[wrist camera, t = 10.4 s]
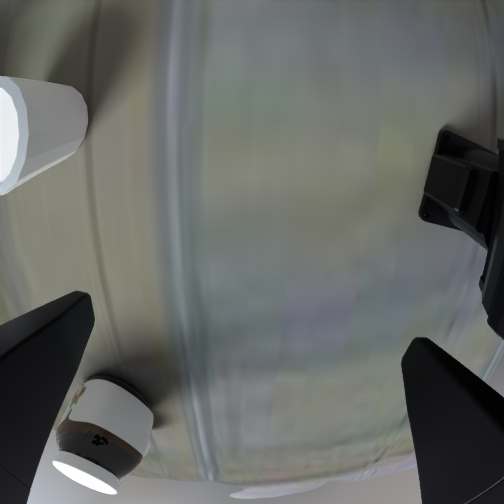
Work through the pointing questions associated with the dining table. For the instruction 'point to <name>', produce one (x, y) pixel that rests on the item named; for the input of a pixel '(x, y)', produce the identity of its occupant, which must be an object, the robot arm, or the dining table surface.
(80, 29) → the dining table surface
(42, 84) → the white cup
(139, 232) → the dining table surface
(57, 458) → the spread jar
